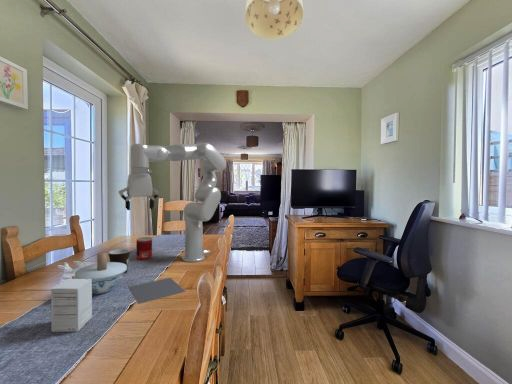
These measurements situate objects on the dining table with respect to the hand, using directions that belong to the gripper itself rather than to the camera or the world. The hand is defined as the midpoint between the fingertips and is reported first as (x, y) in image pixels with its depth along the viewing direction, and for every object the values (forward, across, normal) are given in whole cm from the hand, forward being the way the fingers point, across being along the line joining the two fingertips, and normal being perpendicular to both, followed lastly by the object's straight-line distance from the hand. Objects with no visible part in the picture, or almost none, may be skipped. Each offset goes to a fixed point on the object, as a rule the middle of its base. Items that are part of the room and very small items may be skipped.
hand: (140, 209), depth 114 cm
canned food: (+30, -8, -24) cm, 40 cm away
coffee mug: (+30, +6, -8) cm, 32 cm away
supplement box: (+30, +26, +32) cm, 51 cm away
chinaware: (+30, +16, +11) cm, 36 cm away
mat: (+30, -1, +22) cm, 37 cm away
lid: (+22, +16, +11) cm, 30 cm away
